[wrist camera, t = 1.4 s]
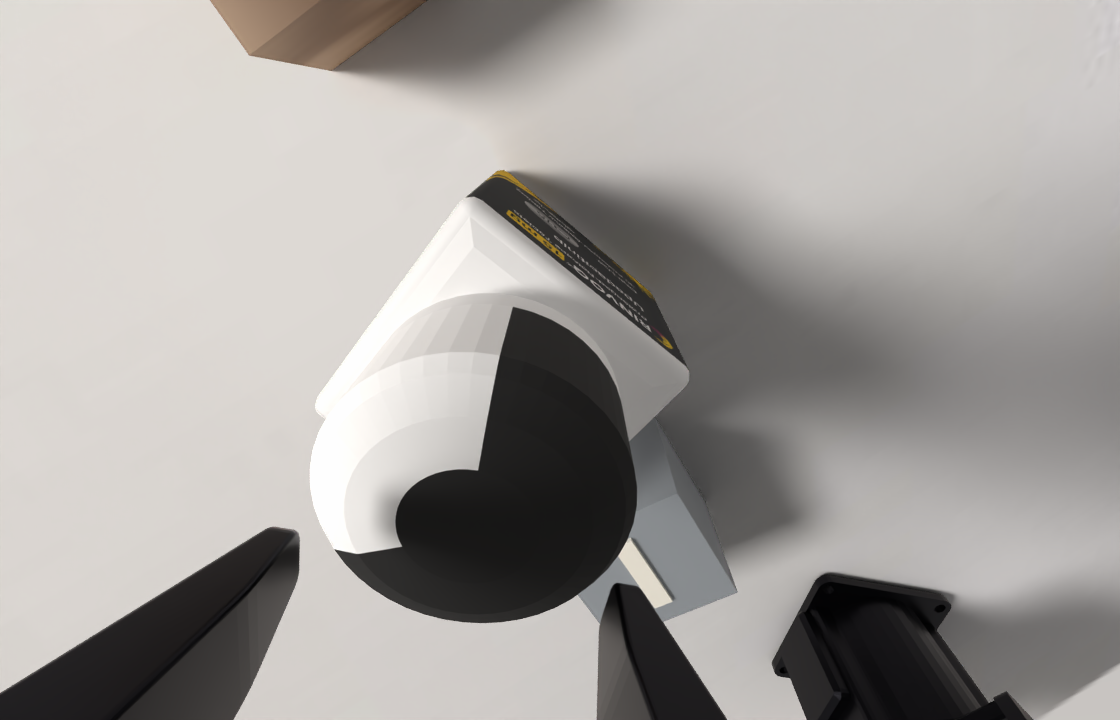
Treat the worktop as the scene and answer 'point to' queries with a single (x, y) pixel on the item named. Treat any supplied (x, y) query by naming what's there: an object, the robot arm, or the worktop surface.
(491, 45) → the worktop surface
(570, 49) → the worktop surface
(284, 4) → the walnut block two
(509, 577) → the medicine bottle
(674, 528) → the slate block one
